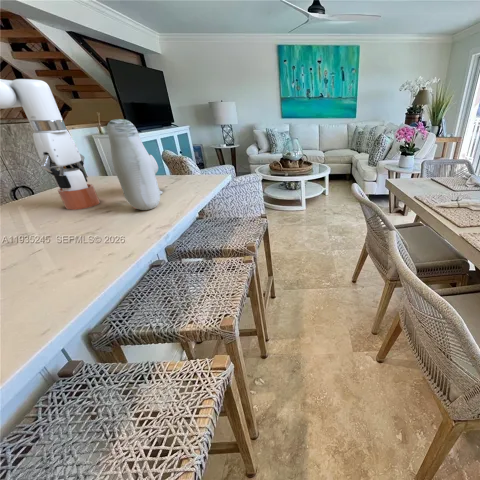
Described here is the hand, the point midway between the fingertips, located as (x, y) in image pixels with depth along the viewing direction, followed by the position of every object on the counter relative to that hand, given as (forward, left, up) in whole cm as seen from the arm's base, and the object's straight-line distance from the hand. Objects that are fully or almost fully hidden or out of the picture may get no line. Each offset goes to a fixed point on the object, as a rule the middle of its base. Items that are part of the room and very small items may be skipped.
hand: (74, 184), depth 88 cm
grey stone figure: (+9, -21, -8) cm, 24 cm away
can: (0, 0, -7) cm, 7 cm away
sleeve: (0, 0, -8) cm, 8 cm away
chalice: (+18, -6, -8) cm, 21 cm away
